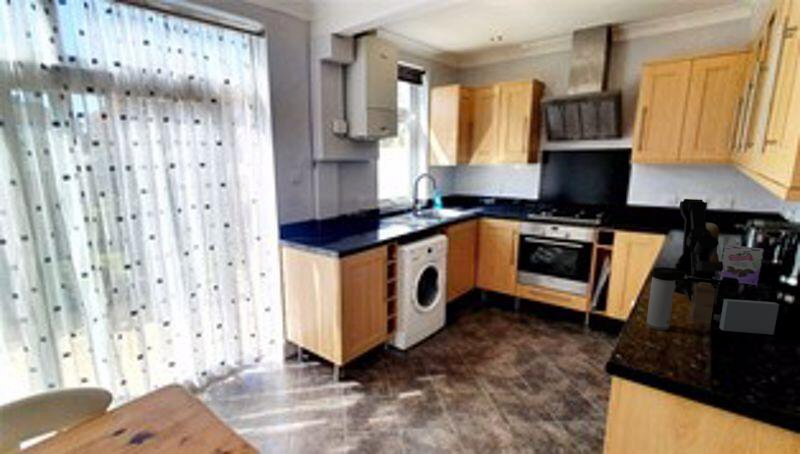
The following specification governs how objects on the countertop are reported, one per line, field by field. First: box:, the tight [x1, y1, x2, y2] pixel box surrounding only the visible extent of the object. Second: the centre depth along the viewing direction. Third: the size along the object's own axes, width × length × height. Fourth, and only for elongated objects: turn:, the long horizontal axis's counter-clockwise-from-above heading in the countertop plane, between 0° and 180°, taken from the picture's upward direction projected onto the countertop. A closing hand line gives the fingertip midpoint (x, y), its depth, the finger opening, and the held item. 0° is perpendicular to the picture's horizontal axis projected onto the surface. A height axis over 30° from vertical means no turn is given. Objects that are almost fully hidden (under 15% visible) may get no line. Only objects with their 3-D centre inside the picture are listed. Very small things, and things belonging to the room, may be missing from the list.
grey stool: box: [713, 298, 780, 336], centre depth 127 cm, size 10×14×10 cm
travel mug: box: [646, 266, 678, 331], centre depth 125 cm, size 6×7×20 cm
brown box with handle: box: [689, 282, 716, 325], centre depth 132 cm, size 5×5×13 cm
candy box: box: [717, 244, 765, 287], centre depth 174 cm, size 14×6×16 cm, turn 47°
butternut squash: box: [706, 222, 720, 263], centre depth 188 cm, size 14×13×25 cm
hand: (703, 302), depth 130 cm, fingers open, 7 cm apart
